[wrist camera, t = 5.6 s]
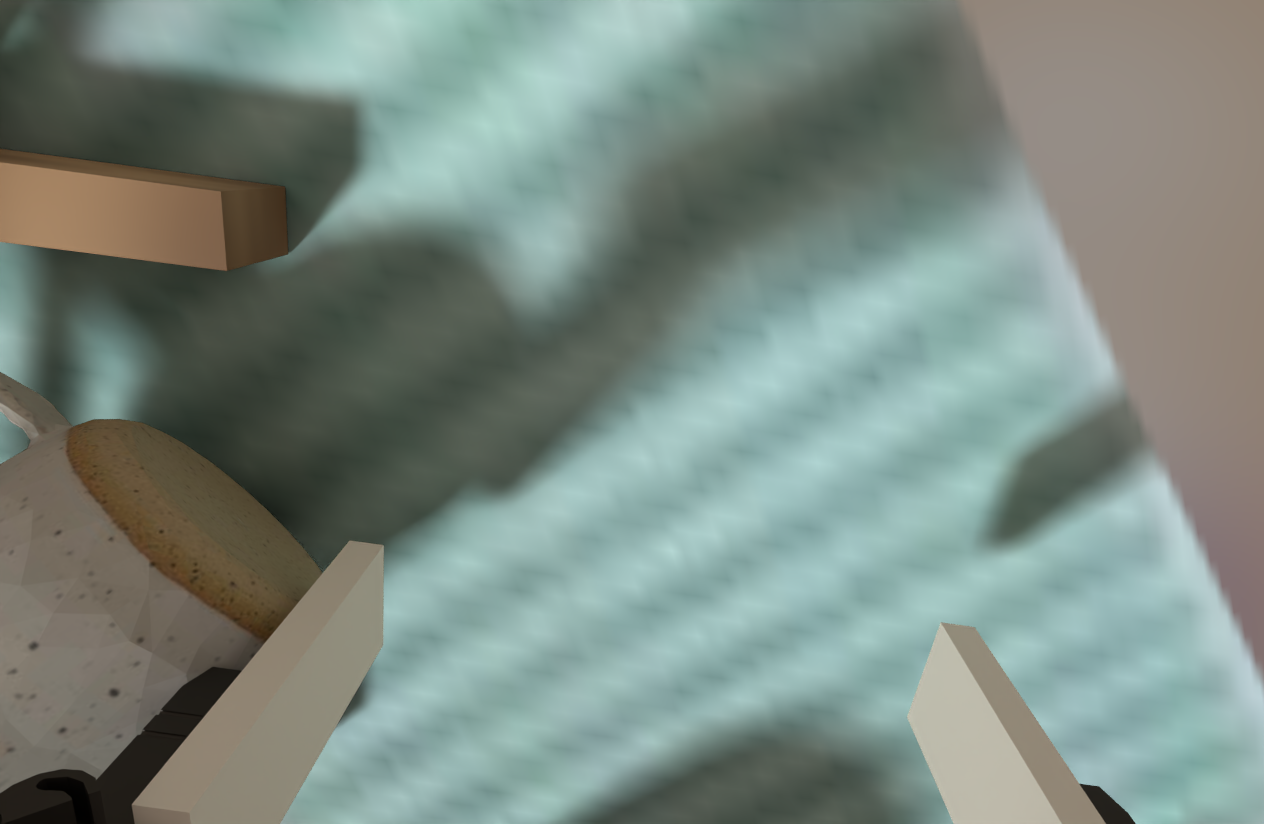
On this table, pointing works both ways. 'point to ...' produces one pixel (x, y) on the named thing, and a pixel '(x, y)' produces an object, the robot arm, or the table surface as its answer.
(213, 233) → the brown wooden flat frame
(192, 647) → the ceramic mug
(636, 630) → the table surface
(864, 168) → the table surface
